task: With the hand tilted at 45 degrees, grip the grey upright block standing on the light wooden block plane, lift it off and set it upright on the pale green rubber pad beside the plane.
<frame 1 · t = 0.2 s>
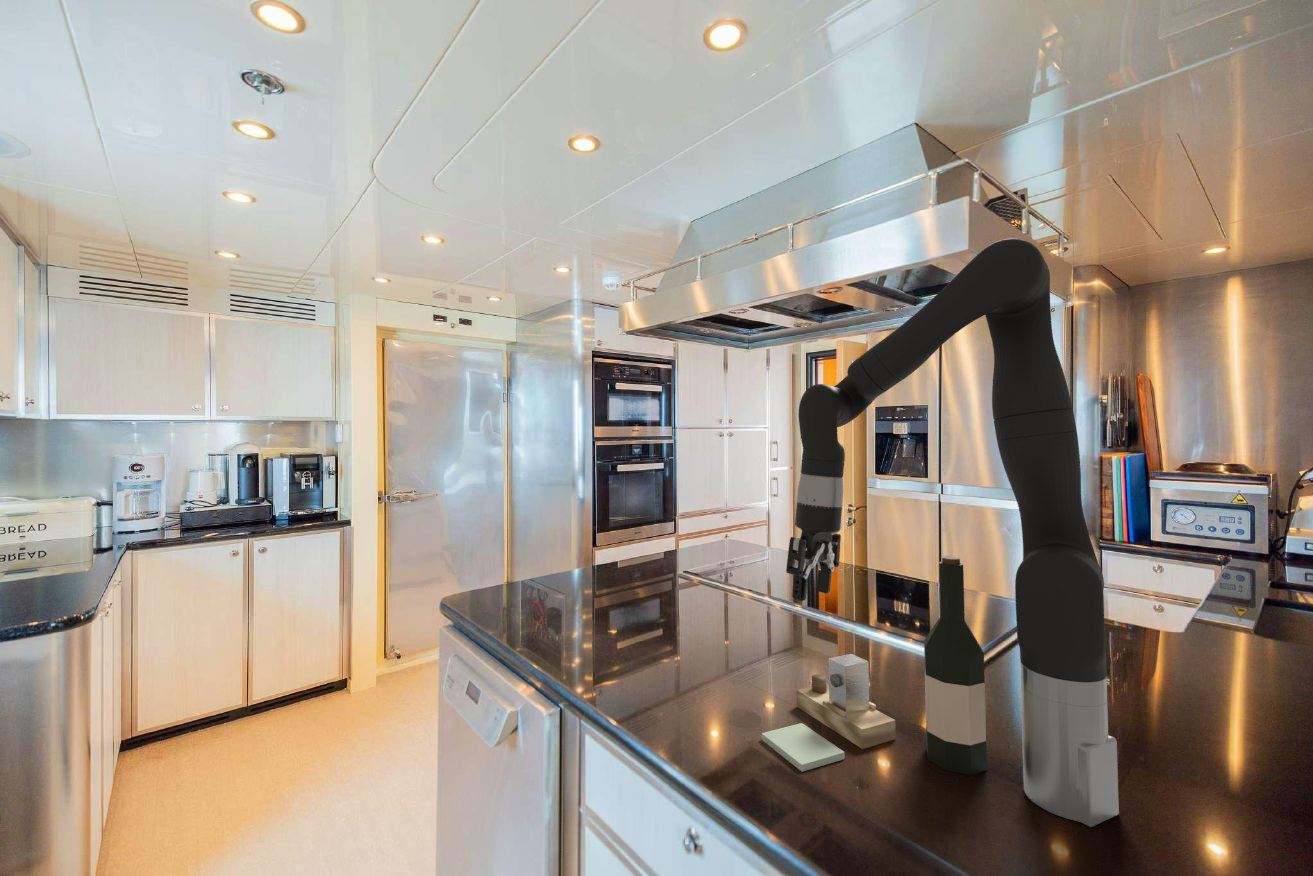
hand: (811, 595, 96), 21 cm above the counter, tool pointing down, fingers open, 8 cm apart
wine bottle: (955, 760, 83), on the counter
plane: (843, 721, 95), on the counter
pad: (801, 748, 87), on the counter
grey upright block: (849, 707, 94), point 3 cm above the counter, touching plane
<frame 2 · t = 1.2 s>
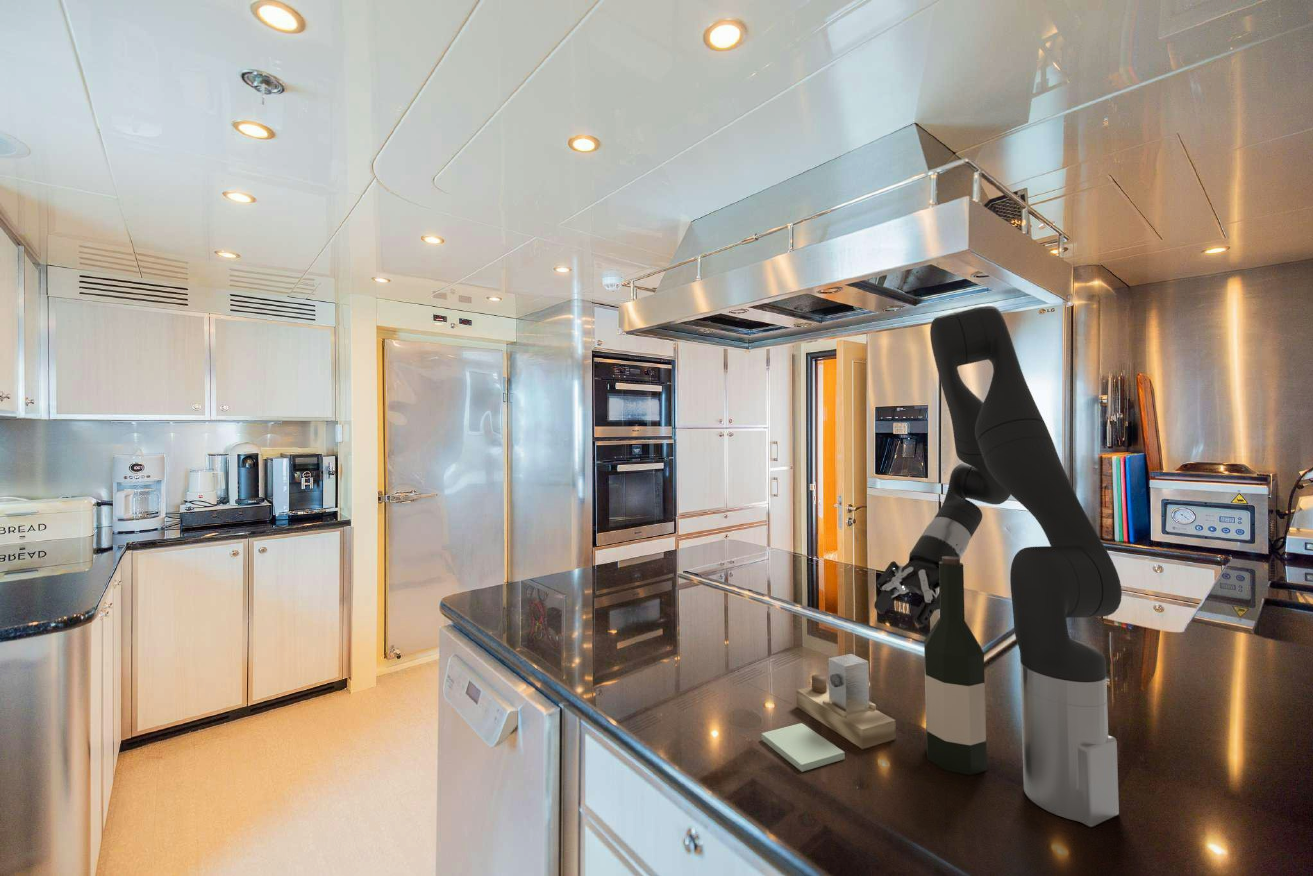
hand: (896, 617, 99), 17 cm above the counter, tool tilted 45°, fingers open, 8 cm apart
nothing on the counter moved.
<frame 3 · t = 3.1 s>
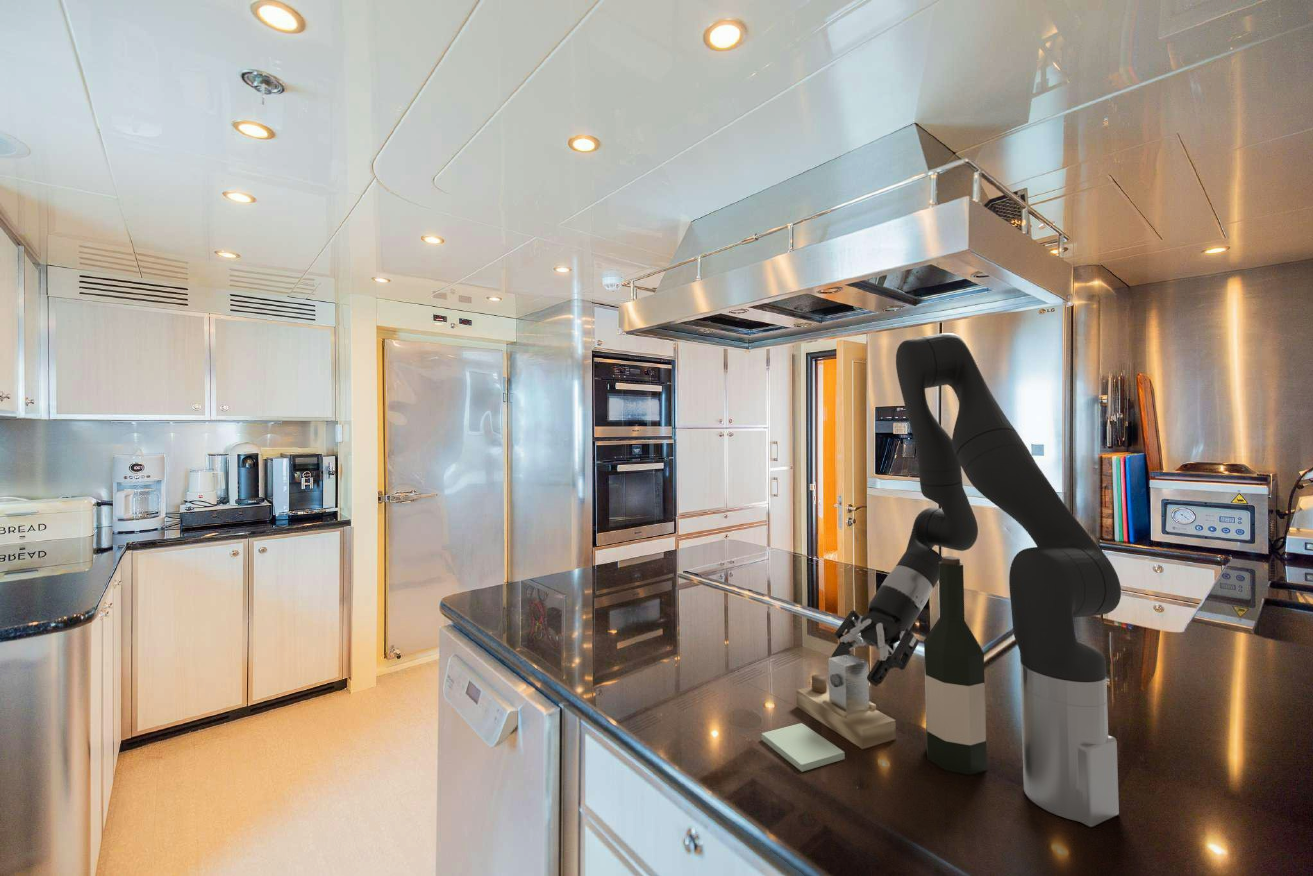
hand: (852, 673, 95), 9 cm above the counter, tool tilted 45°, fingers open, 8 cm apart
nothing on the counter moved.
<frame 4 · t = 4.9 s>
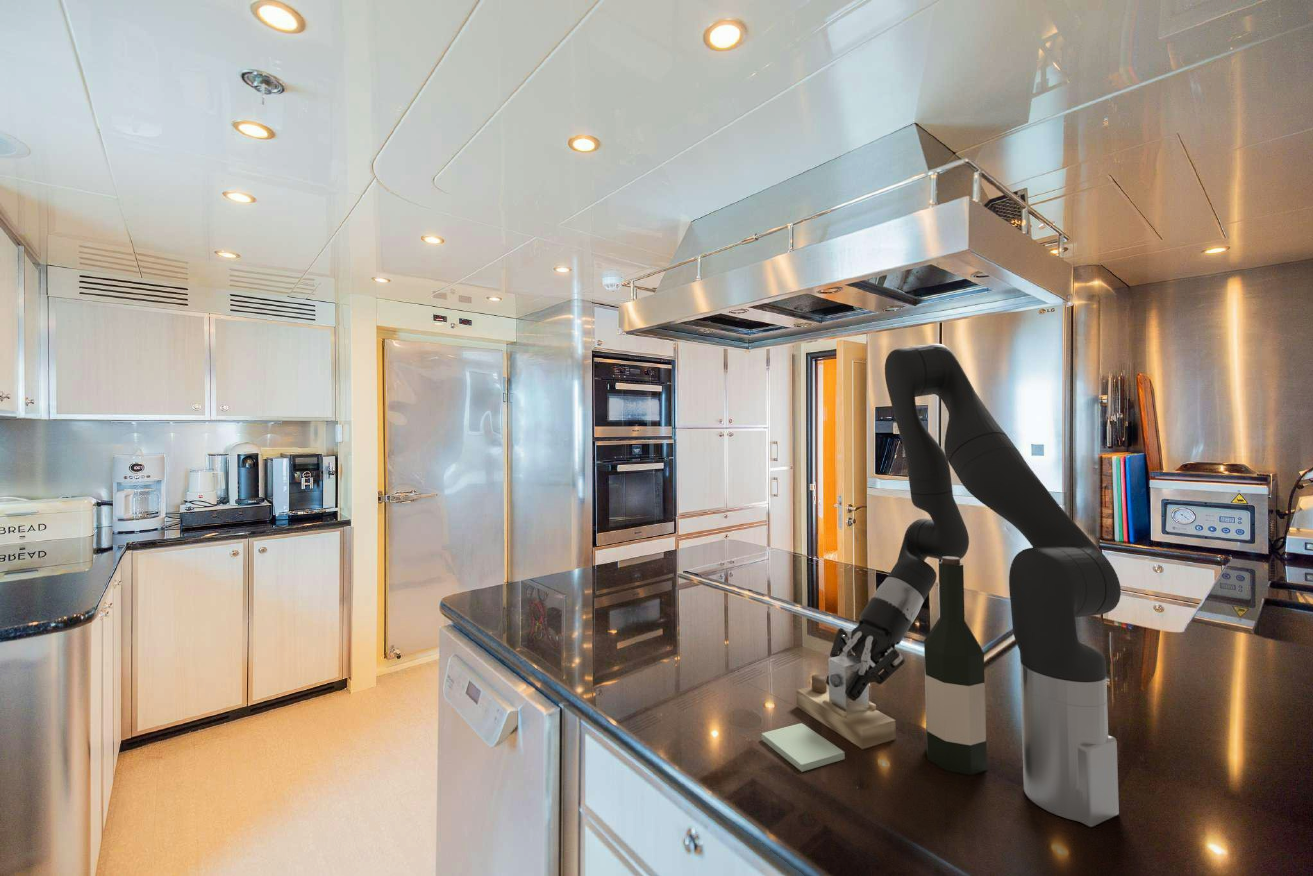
hand: (839, 691, 93), 6 cm above the counter, tool tilted 45°, fingers closed on grey upright block, 4 cm apart
grey upright block: (849, 707, 94), point 3 cm above the counter, touching gripper, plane
everything else where it was.
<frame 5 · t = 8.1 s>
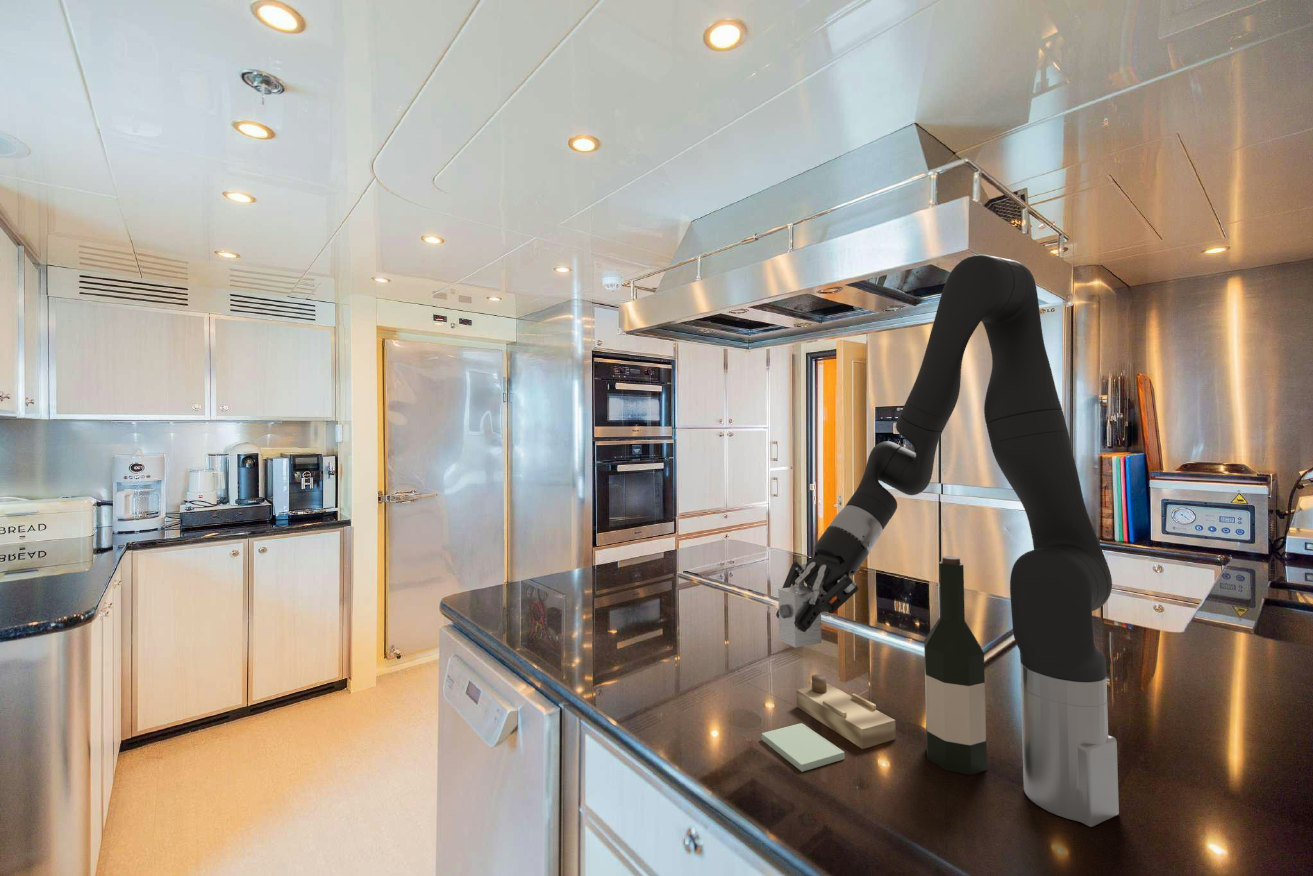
hand: (789, 623, 86), 20 cm above the counter, tool tilted 45°, fingers closed on grey upright block, 4 cm apart
grey upright block: (800, 641, 87), point 17 cm above the counter, touching gripper
everything else where it was.
when the fingers open (5 cm above the counter, at t = 11.3 s): grey upright block drops 1 cm, resting on pad.
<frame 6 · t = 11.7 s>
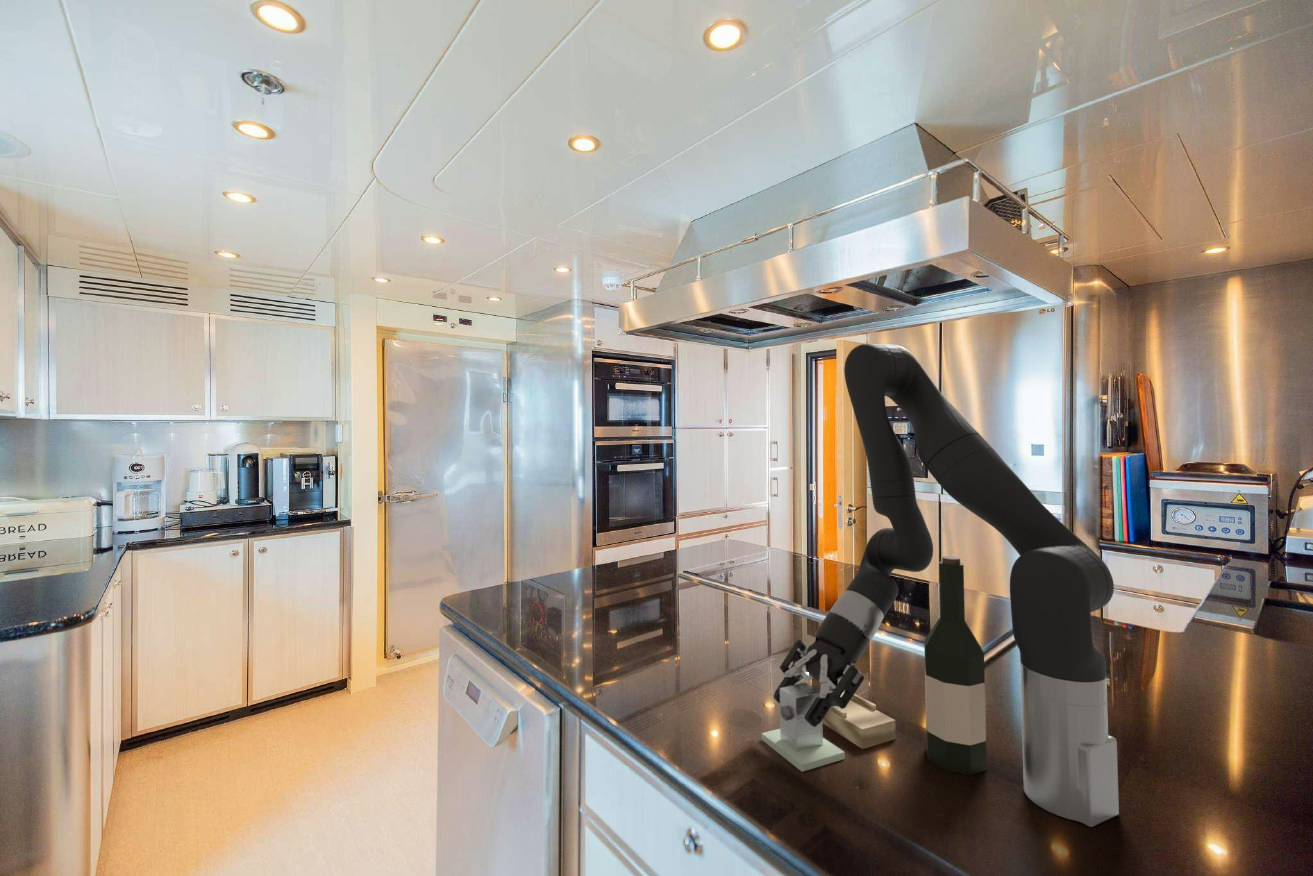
hand: (793, 711, 86), 6 cm above the counter, tool tilted 45°, fingers open, 7 cm apart
grey upright block: (801, 742, 87), point 1 cm above the counter, touching pad
everything else where it was.
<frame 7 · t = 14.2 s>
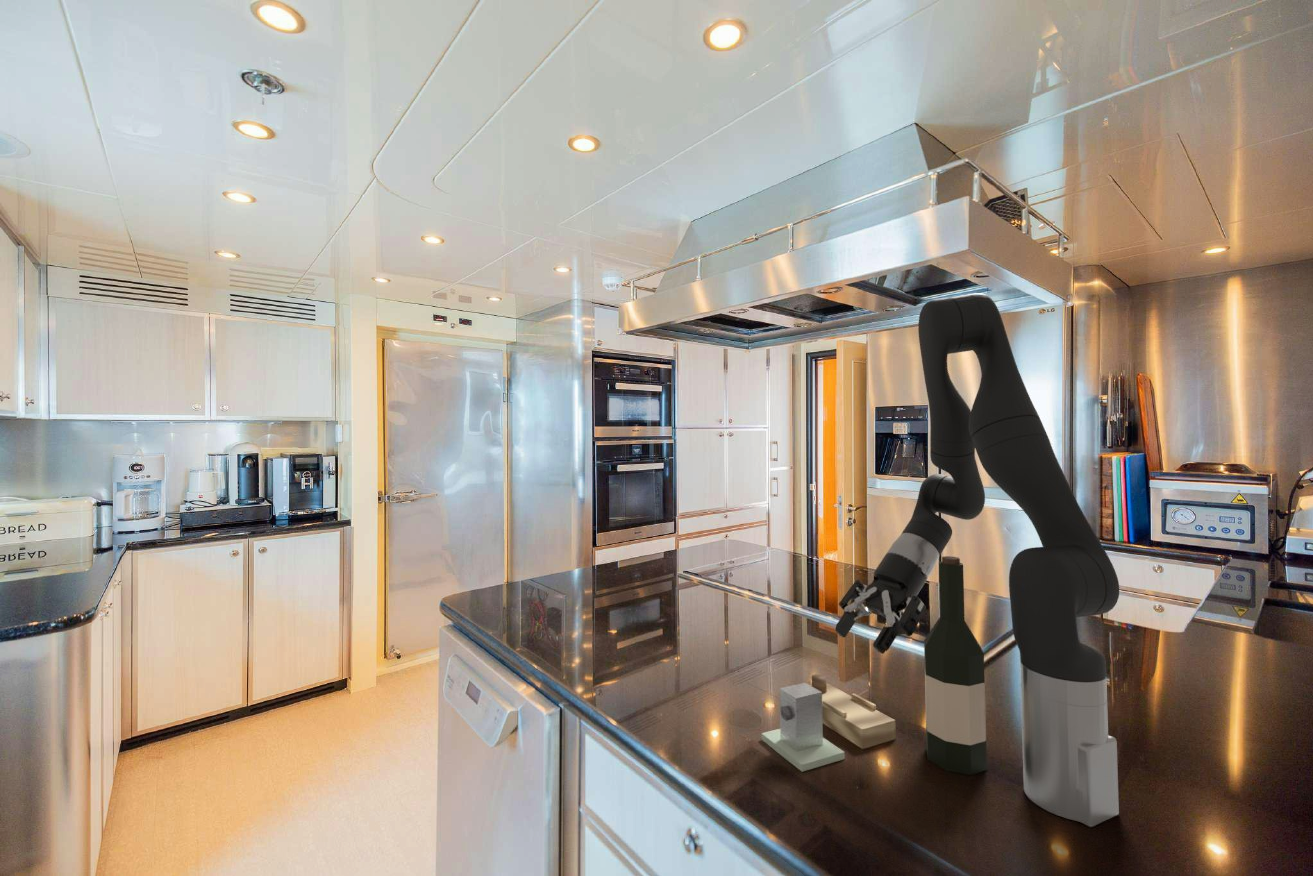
hand: (857, 641, 92), 15 cm above the counter, tool tilted 45°, fingers open, 8 cm apart
nothing on the counter moved.
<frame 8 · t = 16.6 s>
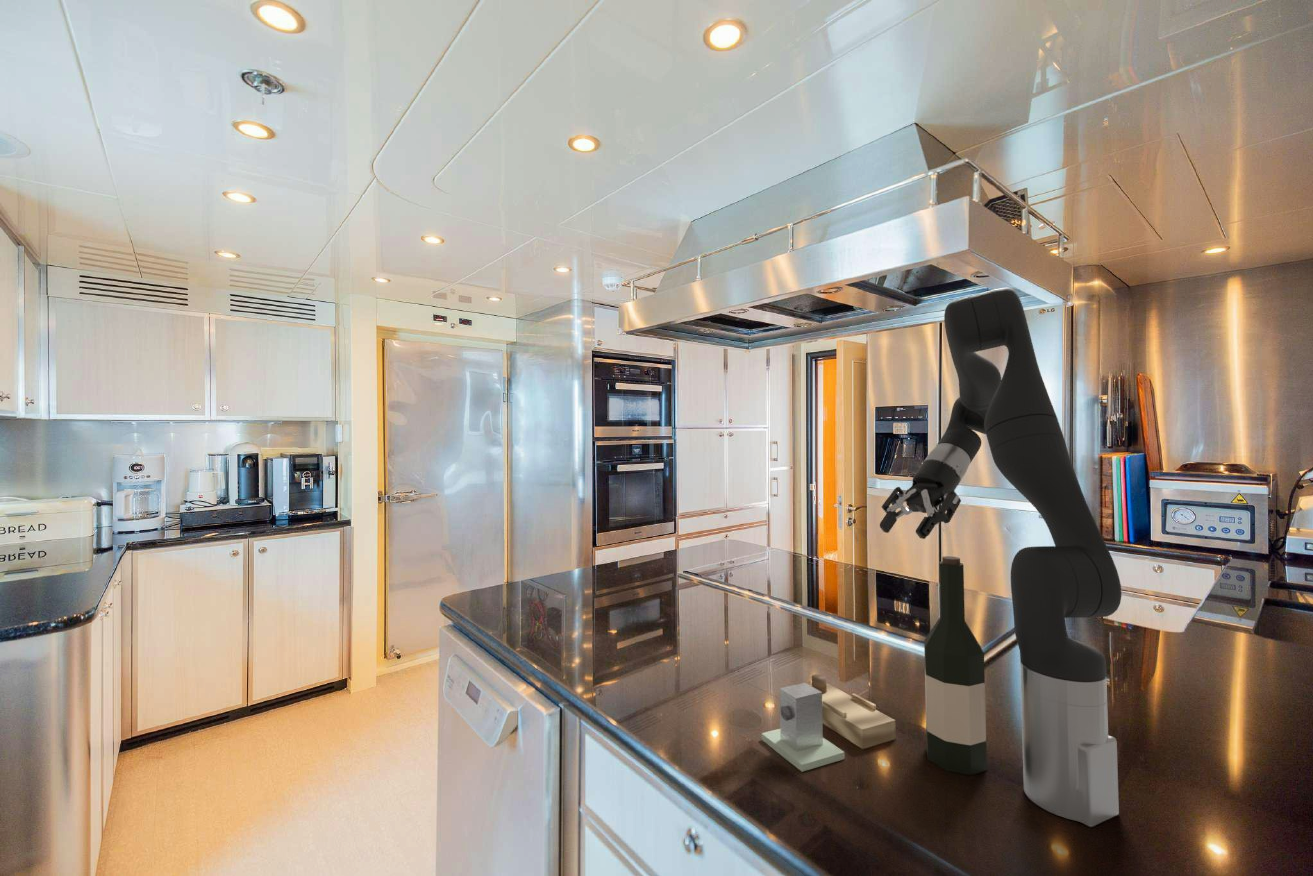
hand: (900, 532, 106), 31 cm above the counter, tool tilted 45°, fingers open, 8 cm apart
nothing on the counter moved.
at the end: grey upright block 0.1 cm off-centre on the pad, point 1.0 cm above the pad's base; grey upright block tilted 0°; grey upright block touching pad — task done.
